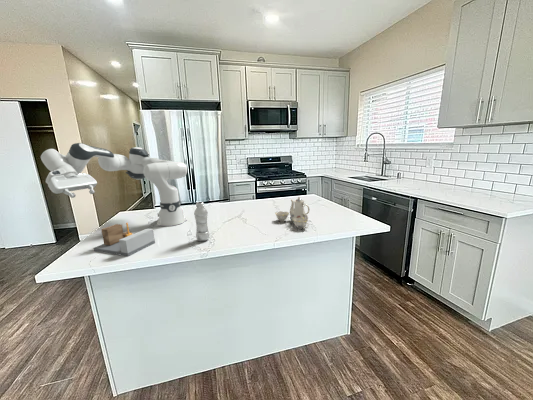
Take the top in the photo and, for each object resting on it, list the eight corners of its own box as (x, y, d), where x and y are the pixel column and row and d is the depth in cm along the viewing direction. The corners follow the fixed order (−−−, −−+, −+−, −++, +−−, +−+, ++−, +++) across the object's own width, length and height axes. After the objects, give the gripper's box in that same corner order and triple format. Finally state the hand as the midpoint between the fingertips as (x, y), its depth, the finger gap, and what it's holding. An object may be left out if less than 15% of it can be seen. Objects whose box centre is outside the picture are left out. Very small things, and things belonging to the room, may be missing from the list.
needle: (125, 239, 126) (123, 223, 125) (130, 237, 129) (128, 221, 127) (128, 239, 126) (125, 223, 124) (133, 237, 129) (130, 222, 127)
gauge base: (94, 250, 117) (91, 236, 116) (123, 238, 132) (120, 225, 130) (128, 256, 110) (125, 240, 108) (155, 243, 125) (153, 229, 123)
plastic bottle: (197, 238, 129) (194, 201, 125) (210, 237, 130) (207, 200, 125) (195, 243, 123) (191, 204, 119) (208, 242, 123) (205, 203, 119)
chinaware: (270, 223, 155) (268, 198, 151) (289, 215, 165) (287, 192, 160) (303, 234, 134) (301, 206, 129) (322, 225, 143) (321, 198, 139)
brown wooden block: (104, 244, 120) (101, 229, 118) (126, 235, 131) (123, 221, 130) (110, 245, 119) (107, 229, 117) (131, 236, 130) (129, 222, 128)
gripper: (85, 176, 134) (101, 195, 133) (41, 182, 115) (59, 203, 114) (89, 168, 132) (105, 187, 131) (45, 173, 113) (63, 194, 112)
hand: (83, 194), depth 122 cm, fingers open, 8 cm apart
